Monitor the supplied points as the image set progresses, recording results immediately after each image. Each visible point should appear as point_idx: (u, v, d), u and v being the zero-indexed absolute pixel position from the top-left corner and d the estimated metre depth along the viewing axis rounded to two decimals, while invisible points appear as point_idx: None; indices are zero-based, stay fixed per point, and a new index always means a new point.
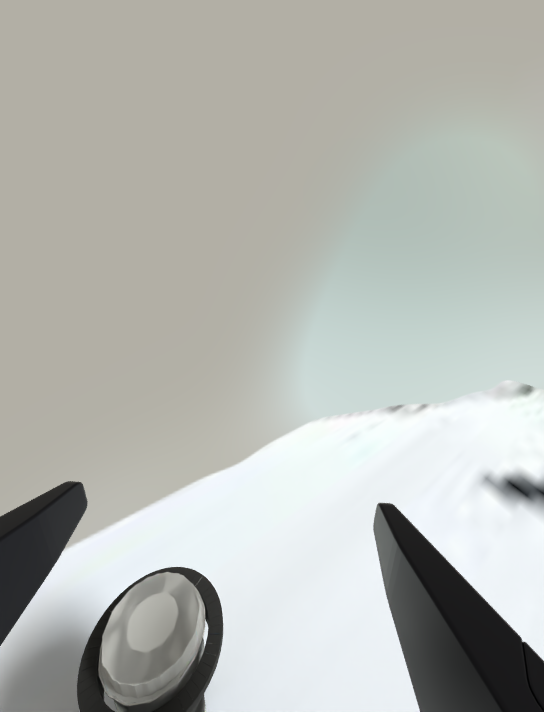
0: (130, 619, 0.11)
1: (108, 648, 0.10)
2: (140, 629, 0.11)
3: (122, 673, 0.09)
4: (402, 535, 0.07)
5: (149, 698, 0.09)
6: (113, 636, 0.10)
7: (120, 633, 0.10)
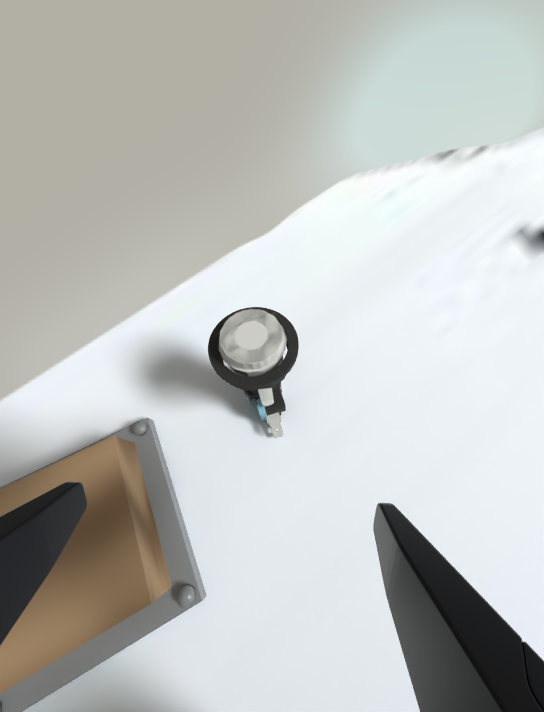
0: (235, 335, 0.15)
1: (227, 349, 0.15)
2: (244, 339, 0.15)
3: (242, 359, 0.15)
4: (402, 535, 0.07)
5: (261, 369, 0.15)
6: (227, 343, 0.15)
7: (231, 342, 0.15)
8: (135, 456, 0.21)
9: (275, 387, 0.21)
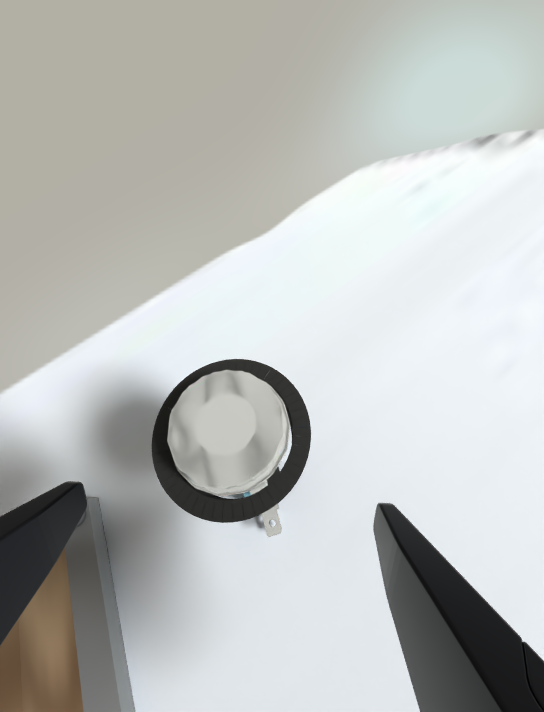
0: (196, 423, 0.08)
1: (179, 453, 0.08)
2: (212, 433, 0.08)
3: (205, 476, 0.08)
4: (402, 535, 0.07)
5: (242, 488, 0.08)
6: (181, 441, 0.08)
7: (188, 438, 0.08)
8: (61, 565, 0.14)
9: None
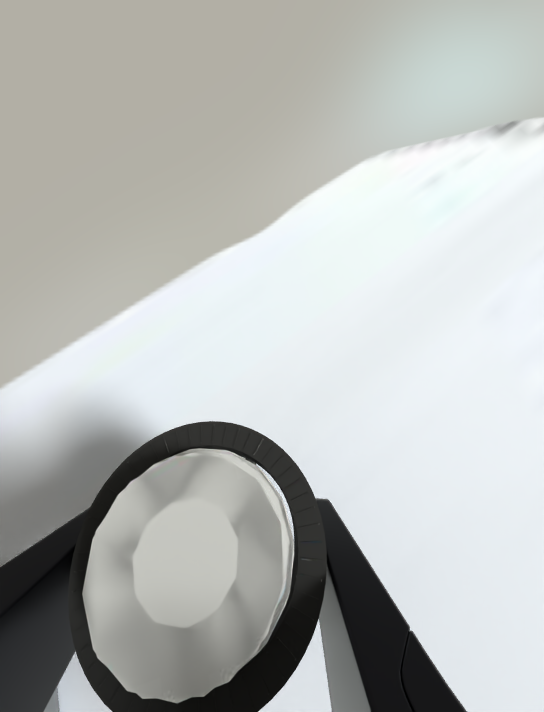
0: (135, 557, 0.05)
1: (101, 621, 0.05)
2: (162, 578, 0.05)
3: (144, 675, 0.04)
4: (326, 529, 0.07)
5: None
6: (106, 596, 0.05)
7: (120, 588, 0.05)
8: None
9: None
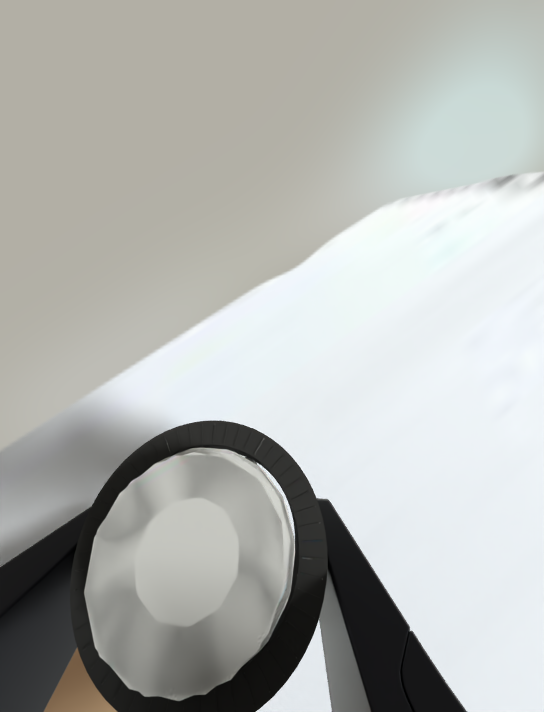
0: (137, 556, 0.05)
1: (103, 620, 0.05)
2: (164, 577, 0.05)
3: (146, 673, 0.04)
4: (326, 529, 0.07)
5: None
6: (107, 595, 0.05)
7: (122, 588, 0.05)
8: None
9: None
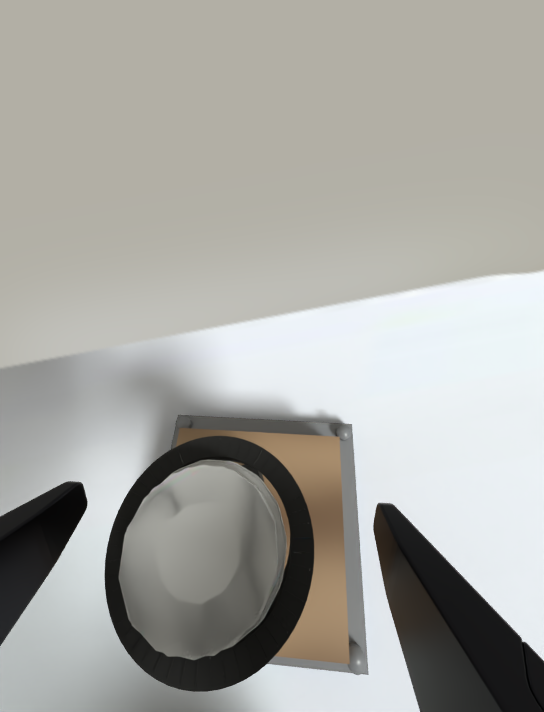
0: (159, 549, 0.06)
1: (134, 598, 0.06)
2: (180, 566, 0.06)
3: (168, 639, 0.05)
4: (402, 535, 0.07)
5: None
6: (137, 579, 0.06)
7: (148, 573, 0.06)
8: None
9: None
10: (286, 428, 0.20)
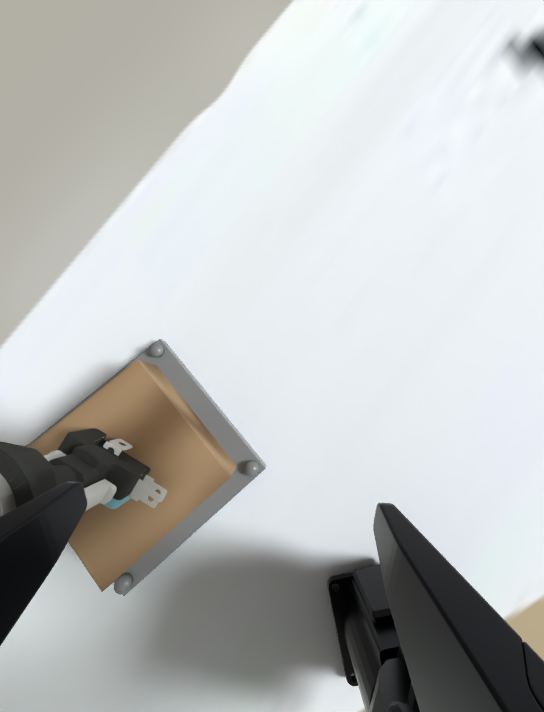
0: None
1: None
2: None
3: None
4: (402, 535, 0.07)
5: None
6: None
7: None
8: (163, 376, 0.21)
9: (101, 471, 0.14)
10: None
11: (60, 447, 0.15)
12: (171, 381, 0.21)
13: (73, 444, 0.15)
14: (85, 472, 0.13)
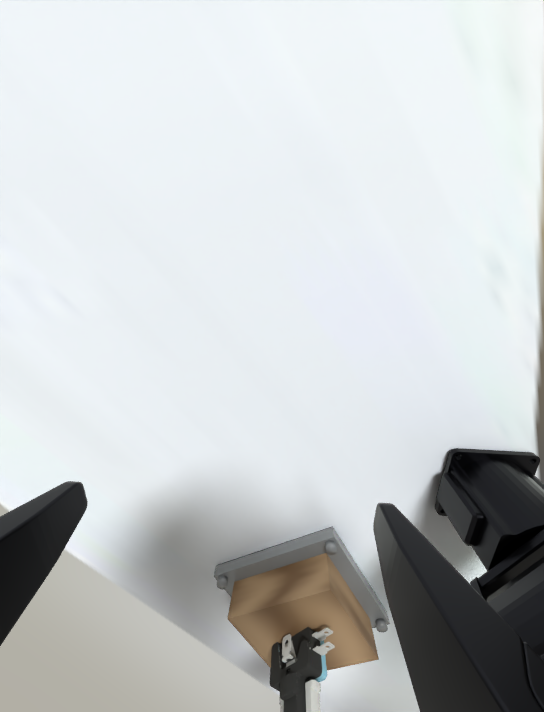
0: None
1: None
2: None
3: None
4: (402, 535, 0.07)
5: None
6: None
7: None
8: (243, 583, 0.27)
9: (299, 688, 0.21)
10: None
11: (278, 690, 0.23)
12: (249, 576, 0.27)
13: (278, 685, 0.22)
14: (296, 709, 0.20)
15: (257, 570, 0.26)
